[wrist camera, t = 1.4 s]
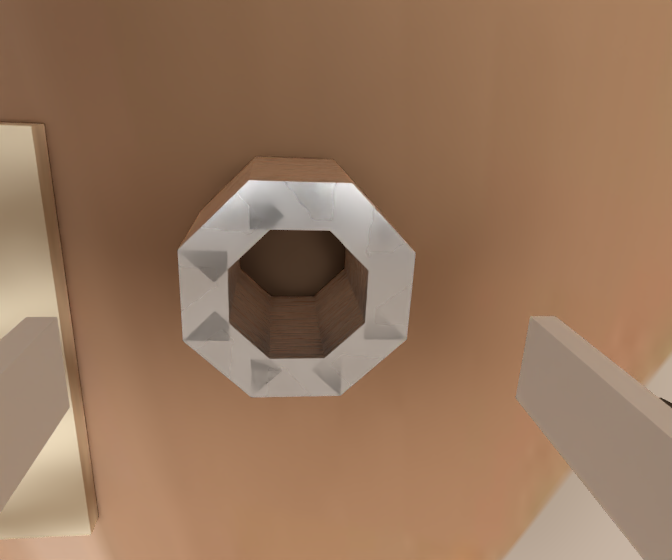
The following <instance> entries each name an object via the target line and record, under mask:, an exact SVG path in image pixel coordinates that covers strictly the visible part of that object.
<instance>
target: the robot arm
mask: <svg viewBox="0 0 672 560" xmlns="http://www.w3.org/2000/svg"><path fill="white" fill-rule="evenodd" d="M516 399H517V400H518V402H519V403H520V404H521V405H522V407H523V408H524V409H525V411H526V412H527V413H528V414H529V416H530V417H531V418H532V419H533V421H534V422H535V423H536V424H537V426H538V427H539V428H540V429H541V431H542V432H543V433H544V435H545V436H546V437H547V438H548V440H549V441H550V442H551V443H552V445H553V446H554V447H555V448H556V450H557V451H558V452H559V453H560V455H561V456H562V457H563V458H564V460H565V461H566V462H567V464H568V465H569V466H570V467H571V469H572V470H573V471H574V472H575V474H576V475H577V476H578V477H579V479H580V480H581V481H582V482H583V484H584V485H585V486H586V487H587V489H588V490H589V491H590V492H591V494H592V495H593V496H594V498H595V499H596V500H597V501H598V503H599V504H600V505H601V506H602V508H603V509H604V510H605V511H606V513H607V514H608V515H609V516H610V518H611V519H612V520H613V522H614V523H615V524H616V525H617V527H618V528H619V529H620V530H621V532H622V533H623V534H624V535H625V537H626V538H627V539H628V540H629V542H630V543H631V544H632V546H633V547H634V548H635V549H636V550H637V552H638V553H639V554H640V556H641V557H642V558H643V559H644V560H672V403H670V402H668V401H666V400H664V399H662V398H658V397H657V396H656V395H654V394H653V393H652V392H651V391H649V390H648V389H647V388H646V387H644V386H643V385H642V384H640V383H639V382H638V381H637V380H635V379H634V378H633V377H632V376H630V375H629V374H628V373H627V372H625V371H624V370H623V369H621V368H620V367H619V366H618V365H616V364H615V363H614V362H613V361H611V360H610V359H609V358H608V357H606V356H605V355H604V354H603V353H601V352H600V351H599V350H597V349H596V348H595V347H594V346H592V345H591V344H590V343H589V342H587V341H586V340H585V339H584V338H582V337H581V336H580V335H578V334H577V333H576V332H575V331H573V330H572V329H571V328H570V327H568V326H567V325H566V324H565V323H563V322H562V321H561V320H559V319H558V318H557V317H556V316H530V321H529V326H528V332H527V337H526V343H525V348H524V354H523V359H522V365H521V371H520V376H519V382H518V387H517V393H516ZM69 408H70V405H69V398H68V391H67V384H66V377H65V370H64V363H63V356H62V349H61V341H60V334H59V327H58V320H57V317H26V318H24V319H23V320H22V321H21V322H20V323H19V324H18V325H17V326H15V327H14V328H13V329H12V330H11V331H10V332H9V333H8V334H6V335H5V336H4V337H3V338H2V339H1V340H0V513H1V511H2V510H3V508H4V507H5V505H6V503H7V502H8V500H9V499H10V497H11V496H12V494H13V493H14V491H15V490H16V488H17V487H18V485H19V484H20V482H21V481H22V479H23V478H24V476H25V475H26V473H27V472H28V470H29V469H30V467H31V466H32V464H33V462H34V461H35V459H36V458H37V456H38V455H39V453H40V452H41V450H42V449H43V447H44V446H45V444H46V443H47V441H48V440H49V438H50V437H51V435H52V434H53V432H54V431H55V429H56V428H57V426H58V425H59V423H60V421H61V420H62V418H63V417H64V415H65V414H66V412H67V411H68V409H69Z"/></svg>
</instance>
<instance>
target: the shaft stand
mask: <svg viewBox="0 0 672 560" xmlns="http://www.w3.org/2000/svg"><path fill="white" fill-rule="evenodd" d="M26 317H57V320H58V327H59V334H60V341H61V349H62V356H63V363H64V370H65V377H66V384H67V391H68V398H69V405H70V408H69V409H68V411H67V412H66V414H65V415H64V417H63V418H62V420H61V421H60V423H59V425H58V426H57V428H56V429H55V431H54V432H53V434H52V435H51V437H50V438H49V440H48V441H47V443H46V444H45V446H44V447H43V449H42V450H41V452H40V453H39V455H38V456H37V458H36V459H35V461H34V462H33V464H32V466H31V467H30V469H29V470H28V472H27V473H26V475H25V476H24V478H23V479H22V481H21V482H20V484H19V485H18V487H17V488H16V490H15V491H14V493H13V494H12V496H11V497H10V499H9V500H8V502H7V503H6V505H5V507H4V508H3V510H2V511H1V513H0V539H18V538H39V537H59V536H80V535H91V534H92V532H93V529H94V527H95V524H96V522H97V519H98V517H99V516H98V509H97V502H96V495H95V487H94V480H93V473H92V466H91V459H90V451H89V444H88V437H87V430H86V423H85V415H84V408H83V401H82V394H81V387H80V379H79V372H78V365H77V358H76V350H75V343H74V336H73V329H72V322H71V314H70V307H69V300H68V293H67V286H66V278H65V271H64V264H63V257H62V250H61V242H60V235H59V228H58V221H57V213H56V206H55V199H54V192H53V185H52V177H51V170H50V163H49V156H48V149H47V141H46V134H45V127H44V124H33V123H7V122H0V340H1V339H2V338H3V337H4V336H5V335H6V334H8V333H9V332H10V331H11V330H12V329H13V328H14V327H15V326H17V325H18V324H19V323H20V322H21V321H22V320H23V319H24V318H26Z"/></svg>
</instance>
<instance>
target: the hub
mask: <svg viewBox="0 0 672 560" xmlns="http://www.w3.org/2000/svg"><path fill="white" fill-rule="evenodd" d="M269 230H322V231H331V232H332V233H333V234H334V235H335V236H336V237H337V238H338V239H339V240H340V241H341V243H342V244H343V245H344V246H345V247H346V248H345V266H344V269H343V270H342V271H341V272H340V273H339V274H338V275H337V276H336V277H335V278H333V279H332V280H331V281H330V282H329V283H328V284H327V285H326V286H325V287H323V288H322V289H321V290H320V291H319V292H318V293H317V294H316V295H315V296H313V297H271V296H270V295H269V294H268V293H266V292H265V291H264V290H263V289H262V288H261V287H260V286H259V285H258V284H257V283H256V282H255V281H254V280H252V279H251V278H250V277H249V276H248V275H247V274H246V273H245V272H244V271H243V270H242V269H241V268H240V257H242V256H243V255H244V254H245V253H246V252H247V251H248V250H249V249H250V248H251V247H252V246H253V245H254V244H255V243H256V242H257V241H258V240H260V239H261V238H262V237H263V236H264V235H265V234H266V233H267V232H268V231H269ZM415 254H416V253H415V252H414V250H413V249H412V248H411V247H410V246H409V244H408V243H407V242H406V241H405V240H404V239H403V237H402V236H401V235H400V234H399V233H398V231H397V230H396V229H395V228H394V227H393V225H392V224H391V223H390V222H389V221H388V220H387V218H386V217H385V216H384V215H383V214H382V213H381V211H380V210H379V209H378V208H377V207H376V206H375V205H374V204H373V203H372V201H371V200H370V199H369V198H368V197H367V196H366V195H365V194H364V193H363V191H362V190H361V189H360V188H359V187H358V186H357V185H356V184H355V183H354V182H353V180H352V179H351V178H350V177H349V176H348V175H347V174H346V173H345V172H344V170H343V169H342V168H341V167H340V166H339V165H338V164H337V163H336V162H335V160H334V159H314V158H284V157H255V158H254V159H253V160H252V161H251V162H250V163H249V164H248V165H247V166H246V167H244V168H243V169H242V170H241V171H240V172H239V173H238V174H237V175H236V176H235V177H234V178H233V179H232V180H231V181H230V182H229V183H228V184H227V185H226V186H225V187H224V188H223V189H222V190H221V191H220V192H219V193H218V194H217V195H216V196H215V197H214V198H213V199H212V200H211V201H210V202H209V203H208V204H207V205H206V206H205V207H204V208H203V209H202V210H201V211H200V213H199V215H198V216H197V218H196V220H195V221H194V223H193V225H192V226H191V228H190V230H189V231H188V233H187V235H186V236H185V238H184V240H183V242H182V243H181V245H180V247H179V248H178V267H179V284H180V300H181V317H182V334H183V341H184V342H185V343H186V344H187V345H188V346H190V347H191V348H192V349H193V350H194V351H196V352H197V353H198V354H199V355H201V356H202V357H203V358H204V359H205V360H207V361H208V362H209V363H210V364H211V365H213V366H214V367H215V368H216V369H218V370H219V371H220V372H221V373H222V374H224V375H225V376H226V377H227V378H228V379H230V380H231V381H232V382H233V383H235V384H236V385H237V386H238V387H239V388H241V389H242V390H243V391H244V392H245V393H247V394H248V395H249V396H250V397H296V396H340V395H342V394H343V393H344V392H345V391H346V390H348V389H349V388H350V387H351V386H352V385H353V384H355V383H356V382H357V381H358V380H359V379H361V378H362V377H363V376H364V375H365V374H366V373H368V372H369V371H370V370H371V369H372V368H373V367H375V366H376V365H377V364H378V363H379V362H381V361H382V360H383V359H384V358H385V357H386V356H388V355H389V354H390V353H391V352H392V351H394V350H395V349H396V348H397V347H398V346H399V345H401V344H402V343H403V342H404V341H405V340H407V332H408V322H409V313H410V303H411V293H412V283H413V274H414V264H415Z"/></svg>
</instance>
